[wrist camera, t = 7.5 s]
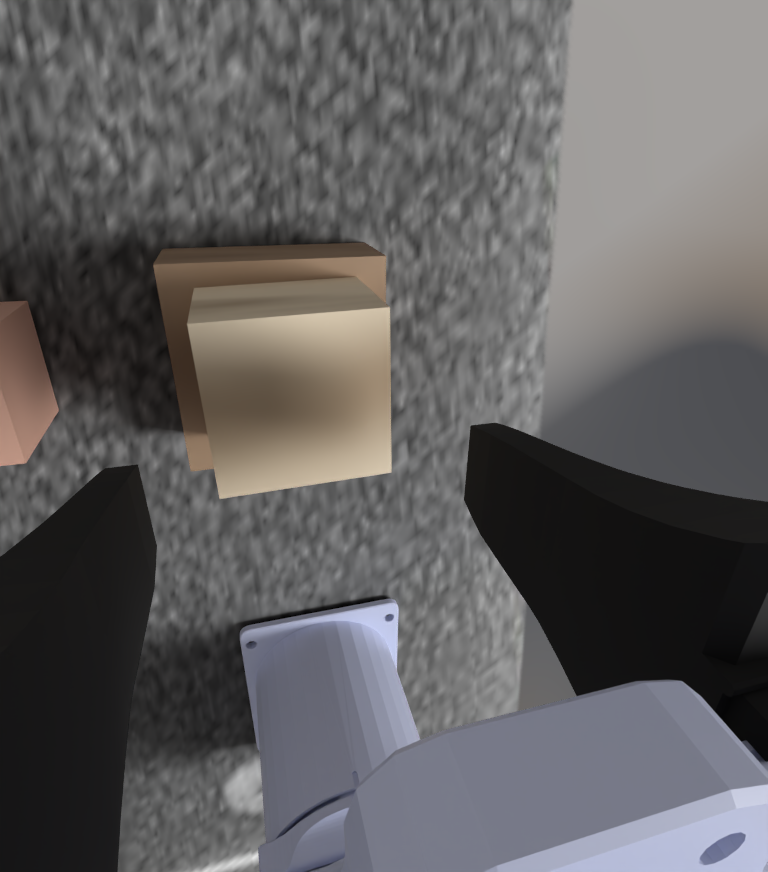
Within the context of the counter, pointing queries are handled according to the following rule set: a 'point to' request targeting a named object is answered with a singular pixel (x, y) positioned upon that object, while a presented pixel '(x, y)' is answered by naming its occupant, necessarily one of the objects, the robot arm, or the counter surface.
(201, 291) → the maple block
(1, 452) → the terracotta block
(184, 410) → the walnut base
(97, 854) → the robot arm
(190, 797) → the counter surface
